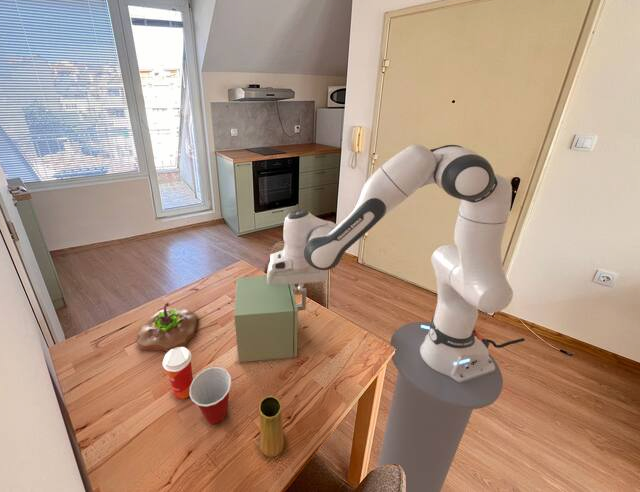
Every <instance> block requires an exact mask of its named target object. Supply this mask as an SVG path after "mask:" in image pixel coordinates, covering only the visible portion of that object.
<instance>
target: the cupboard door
mask: <svg viewBox="0 0 640 492" xmlns="http://www.w3.org/2000/svg"><path fill="white" fill-rule="evenodd" d="M289 290H290V295H291V300H292V305H293V310H294V337H293V358H297V357H298V328H299V327H298V322H299V321H298V319H299V311H306V310H307V292H308V291H307V290H308V289H307V288H306V287H302V289H301V293H297V294H294V291H293V289H292V287H291V285H290V284H289ZM297 295H301V303H297V300H296V297H295V296H297Z"/></svg>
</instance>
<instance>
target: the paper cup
mask: <svg viewBox="0 0 640 492" xmlns="http://www.w3.org/2000/svg"><path fill="white" fill-rule="evenodd" d="M162 367H163V369H164V370H165V372H166V375H167V379H168V381H169V385H170V387H171V390H172V392H173V395H174V397H175V398H176V399H178V400H184V399H187V398H188V397H190V395H189V391H190V385H191V383H192V381H193V379H194V378H193V367H192V352H191V351H190V350H189V349H188V348H186V346H185V347H181V348H180V347H177V348H175V349H171V350H169V351H168V352H166V353H165V355H164V357H163V360H162Z"/></svg>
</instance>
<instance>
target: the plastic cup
mask: <svg viewBox="0 0 640 492" xmlns="http://www.w3.org/2000/svg"><path fill="white" fill-rule="evenodd" d="M231 386H232V376H231V374H230V373H229V371H228V370H227V369H225V368H223V367H220V366H212V367H208V368H205V369H202V371H200V372H198V373H197V375H195V377H194V378H193V381H192V383H191V385H190V391H189V395H190V396H189V397H190V400H191V401H192V402H193V403H194V404H196V405H197V406H198V408H199V409H200V412H201V413H202V415H203V416H204V418H205V421H206V422H207V423H209V424H211V425H216V424H219V423H221V422H222V421H223V420H224V419H225V418H226V415H227V412H228V406H229V396H230V390H231Z"/></svg>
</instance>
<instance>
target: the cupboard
mask: <svg viewBox="0 0 640 492" xmlns="http://www.w3.org/2000/svg"><path fill="white" fill-rule="evenodd" d="M235 283H236V285H235V298H234V299H235V301H234V314H233V315H234V325H235V326H234V328H235V336H236V338H235V339H236V346H237V347H236V349H237V359H238V363H246V362H256V361H257V362H258V361H266V360H269V361H270V360H280V359H289V358H291V359H292V358H294V353H293V337H294V310H293V305H292V300H291V295H290V290H289V285H276V286H270V285H268V283H267V275H259V276H243V277H236V282H235Z"/></svg>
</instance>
